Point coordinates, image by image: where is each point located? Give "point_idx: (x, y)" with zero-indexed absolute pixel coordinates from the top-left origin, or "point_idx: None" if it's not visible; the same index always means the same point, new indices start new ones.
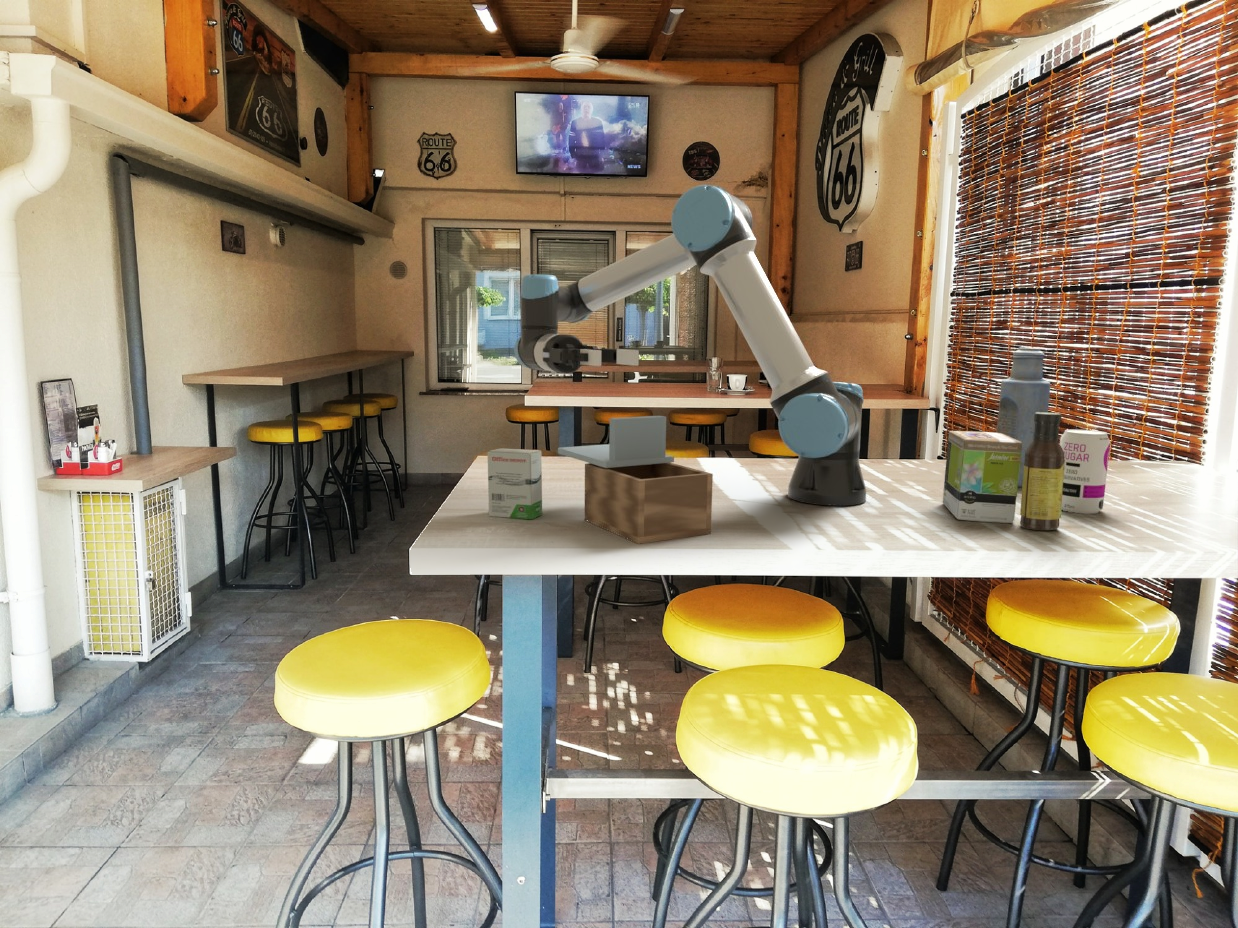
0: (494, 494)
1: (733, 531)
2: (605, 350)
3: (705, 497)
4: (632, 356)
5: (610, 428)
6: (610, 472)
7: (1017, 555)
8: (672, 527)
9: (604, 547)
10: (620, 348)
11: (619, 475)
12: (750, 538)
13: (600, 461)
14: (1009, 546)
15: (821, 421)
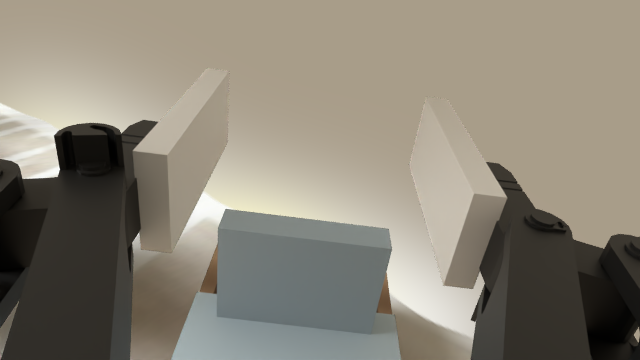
0: None
1: (183, 291)
2: (115, 280)
3: None
4: (222, 111)
5: (385, 268)
6: (390, 309)
7: (58, 130)
8: None
9: (418, 327)
10: (119, 149)
11: (387, 282)
12: (200, 260)
13: (397, 337)
14: (20, 137)
15: None
